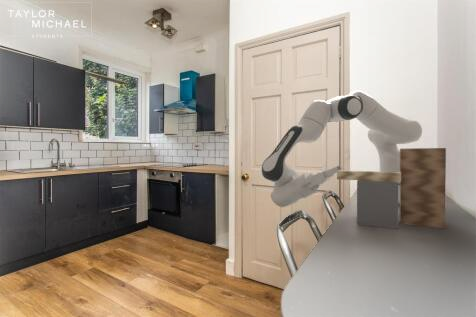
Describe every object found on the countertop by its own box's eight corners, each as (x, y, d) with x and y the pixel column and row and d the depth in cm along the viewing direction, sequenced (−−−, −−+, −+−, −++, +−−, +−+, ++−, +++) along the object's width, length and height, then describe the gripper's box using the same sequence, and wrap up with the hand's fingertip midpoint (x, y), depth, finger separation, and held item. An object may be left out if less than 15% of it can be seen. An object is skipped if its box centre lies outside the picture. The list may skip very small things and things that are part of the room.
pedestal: (400, 223, 87) (401, 148, 86) (399, 216, 95) (399, 148, 94) (444, 228, 81) (445, 148, 80) (439, 220, 89) (440, 148, 88)
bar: (336, 179, 93) (336, 171, 93) (338, 178, 95) (338, 170, 95) (401, 182, 83) (401, 173, 82) (400, 180, 85) (400, 172, 85)
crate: (357, 224, 87) (357, 181, 86) (359, 217, 95) (359, 178, 95) (398, 229, 81) (398, 183, 80) (396, 221, 89) (397, 179, 89)
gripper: (295, 180, 92) (329, 162, 85) (309, 175, 109) (338, 159, 103) (303, 195, 90) (339, 178, 84) (317, 187, 108) (347, 173, 101)
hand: (339, 167), depth 94 cm, fingers open, 8 cm apart
